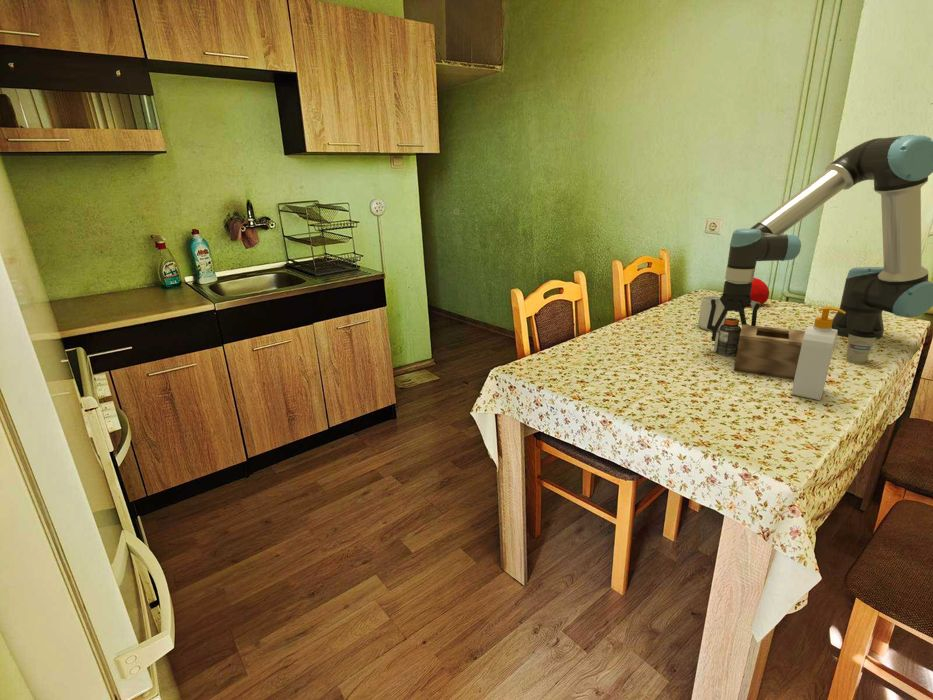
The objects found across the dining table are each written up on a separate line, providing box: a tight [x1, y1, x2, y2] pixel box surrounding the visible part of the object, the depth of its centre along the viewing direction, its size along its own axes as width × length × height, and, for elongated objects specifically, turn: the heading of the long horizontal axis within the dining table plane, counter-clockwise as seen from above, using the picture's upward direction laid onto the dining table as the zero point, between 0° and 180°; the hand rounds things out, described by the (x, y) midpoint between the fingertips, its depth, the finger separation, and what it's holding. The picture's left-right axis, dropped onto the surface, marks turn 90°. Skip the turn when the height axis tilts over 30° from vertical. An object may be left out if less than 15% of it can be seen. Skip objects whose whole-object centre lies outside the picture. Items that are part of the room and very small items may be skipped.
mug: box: [697, 295, 728, 332], centre depth 179 cm, size 12×9×11 cm
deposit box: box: [733, 324, 806, 380], centre depth 141 cm, size 16×12×11 cm
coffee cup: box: [845, 327, 878, 364], centre depth 144 cm, size 7×7×10 cm
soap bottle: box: [791, 306, 846, 401], centre depth 123 cm, size 9×7×23 cm
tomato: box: [747, 277, 770, 307], centre depth 207 cm, size 13×13×13 cm
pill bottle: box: [716, 317, 742, 357], centre depth 153 cm, size 6×6×11 cm
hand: (726, 352), depth 155 cm, fingers open, 6 cm apart
